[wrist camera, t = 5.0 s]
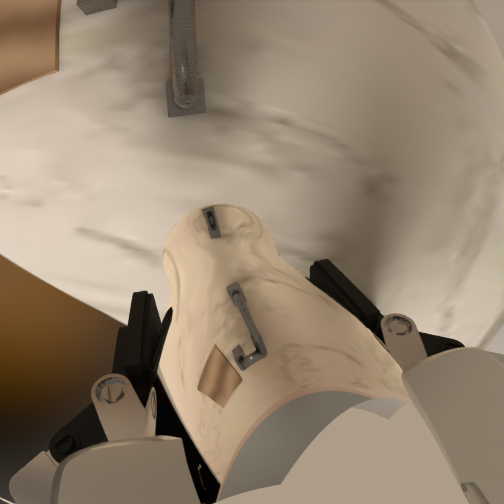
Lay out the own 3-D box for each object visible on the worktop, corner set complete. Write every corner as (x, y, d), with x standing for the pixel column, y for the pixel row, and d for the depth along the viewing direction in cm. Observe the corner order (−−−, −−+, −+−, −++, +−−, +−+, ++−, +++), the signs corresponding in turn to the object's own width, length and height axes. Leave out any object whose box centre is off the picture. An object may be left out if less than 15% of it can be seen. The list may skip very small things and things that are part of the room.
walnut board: (58, 71, 15) (55, 69, 14) (-39, 116, 12) (-44, 117, 12) (66, -37, 9) (64, -40, 9) (-33, 14, 7) (-37, 12, 6)
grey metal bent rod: (201, 113, 20) (208, 112, 16) (91, 132, 18) (73, 137, 14) (194, -26, 14) (201, -52, 10) (87, -9, 12) (73, -29, 8)
